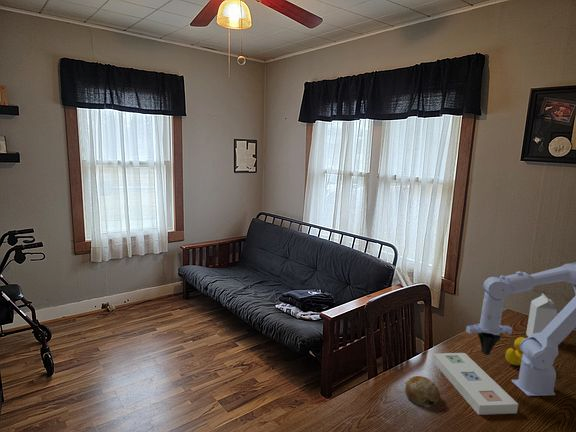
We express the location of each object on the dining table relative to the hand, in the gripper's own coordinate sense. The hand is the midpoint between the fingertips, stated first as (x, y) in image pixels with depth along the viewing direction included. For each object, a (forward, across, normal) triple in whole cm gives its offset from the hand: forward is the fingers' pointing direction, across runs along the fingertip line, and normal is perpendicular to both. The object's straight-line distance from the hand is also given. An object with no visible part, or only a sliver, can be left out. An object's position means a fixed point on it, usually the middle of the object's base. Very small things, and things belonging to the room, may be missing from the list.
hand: (485, 353), depth 123 cm
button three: (+10, -5, -1) cm, 11 cm away
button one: (+10, -5, -11) cm, 16 cm away
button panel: (+10, -4, -1) cm, 11 cm away
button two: (+10, -5, +9) cm, 14 cm away
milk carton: (+10, +42, +27) cm, 51 cm away
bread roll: (+11, -24, -6) cm, 27 cm away
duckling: (+10, +20, +10) cm, 25 cm away
